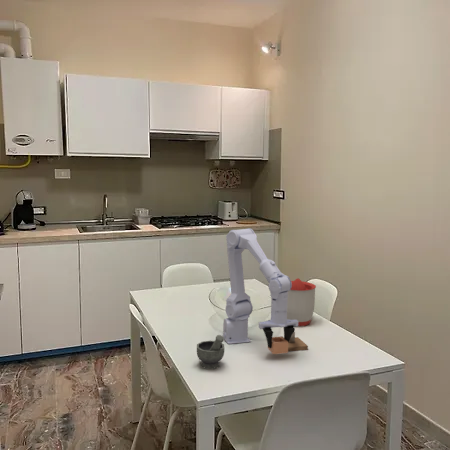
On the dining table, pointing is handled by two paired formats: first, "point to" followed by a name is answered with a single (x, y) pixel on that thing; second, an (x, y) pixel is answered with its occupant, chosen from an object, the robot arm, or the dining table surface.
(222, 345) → the mortar and pestle
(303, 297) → the citrus juicer
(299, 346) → the post stand
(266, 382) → the dining table surface
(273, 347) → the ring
